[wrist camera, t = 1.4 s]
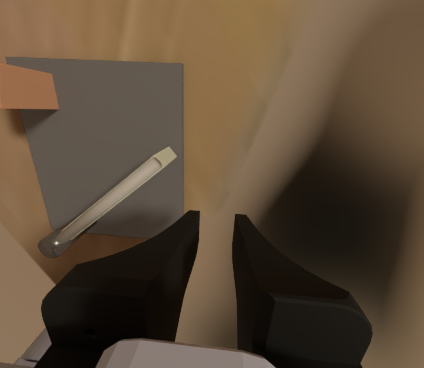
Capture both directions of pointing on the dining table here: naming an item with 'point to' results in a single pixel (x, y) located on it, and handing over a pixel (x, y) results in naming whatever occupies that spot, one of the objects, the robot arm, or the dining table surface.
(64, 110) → the mat
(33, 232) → the dining table surface
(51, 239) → the gate post
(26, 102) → the block
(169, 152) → the bar
